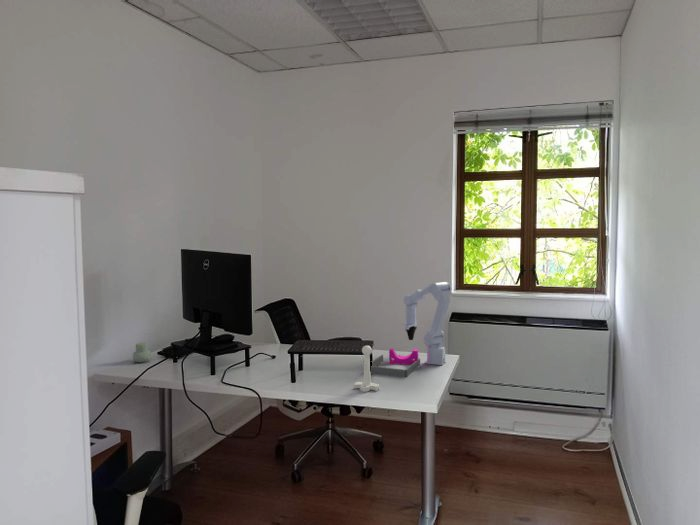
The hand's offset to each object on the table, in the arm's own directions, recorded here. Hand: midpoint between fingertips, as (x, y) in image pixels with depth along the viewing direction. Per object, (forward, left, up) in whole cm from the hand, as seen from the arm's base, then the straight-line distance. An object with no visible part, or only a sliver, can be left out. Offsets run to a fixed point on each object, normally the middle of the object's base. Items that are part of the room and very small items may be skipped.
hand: (410, 339), depth 300 cm
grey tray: (0, +29, -9) cm, 30 cm away
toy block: (-1, +16, -9) cm, 19 cm away
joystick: (0, +65, -9) cm, 66 cm away
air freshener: (+133, +68, -9) cm, 150 cm away
